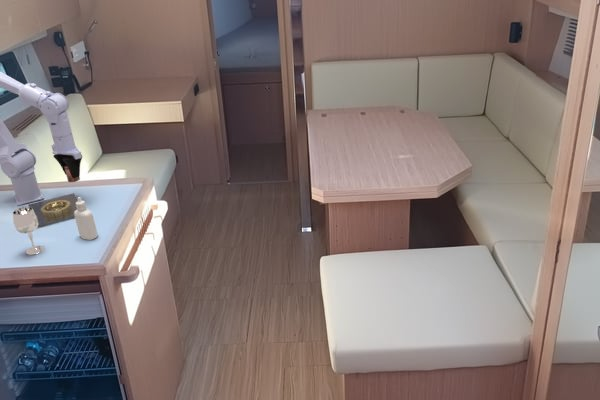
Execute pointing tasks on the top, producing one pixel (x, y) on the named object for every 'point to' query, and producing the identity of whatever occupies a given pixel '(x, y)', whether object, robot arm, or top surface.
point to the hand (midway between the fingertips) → (72, 175)
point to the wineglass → (27, 226)
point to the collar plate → (55, 209)
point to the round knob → (70, 175)
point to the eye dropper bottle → (85, 221)
